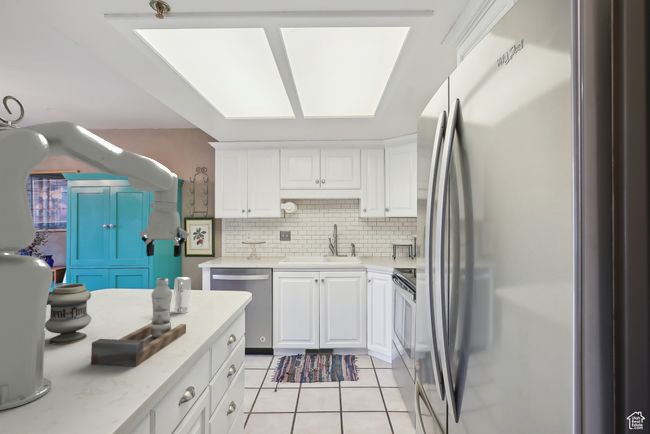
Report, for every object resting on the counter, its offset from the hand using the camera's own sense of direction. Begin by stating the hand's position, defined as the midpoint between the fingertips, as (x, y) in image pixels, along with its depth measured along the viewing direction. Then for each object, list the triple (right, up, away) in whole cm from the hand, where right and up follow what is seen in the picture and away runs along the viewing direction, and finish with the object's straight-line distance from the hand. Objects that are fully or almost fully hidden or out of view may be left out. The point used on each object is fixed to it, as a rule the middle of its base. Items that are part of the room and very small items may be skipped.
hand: (163, 256), depth 112 cm
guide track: (-1, -28, -10) cm, 29 cm away
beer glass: (-7, -29, +31) cm, 43 cm away
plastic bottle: (-1, -28, -1) cm, 28 cm away
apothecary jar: (-29, -27, -5) cm, 41 cm away
